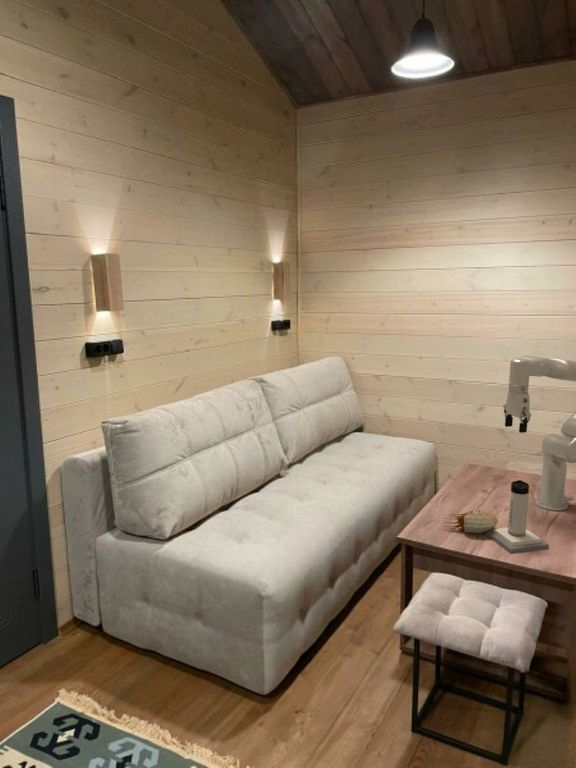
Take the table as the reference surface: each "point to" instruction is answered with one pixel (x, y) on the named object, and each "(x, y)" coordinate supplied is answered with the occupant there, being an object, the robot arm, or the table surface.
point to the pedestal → (516, 540)
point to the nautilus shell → (474, 521)
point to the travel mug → (518, 508)
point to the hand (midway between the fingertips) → (515, 429)
